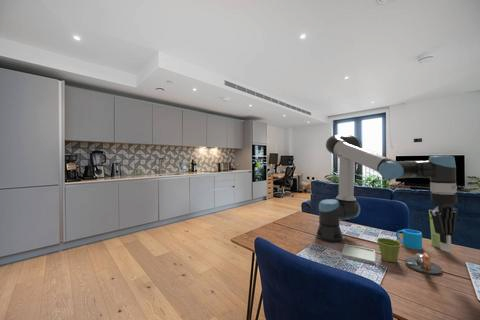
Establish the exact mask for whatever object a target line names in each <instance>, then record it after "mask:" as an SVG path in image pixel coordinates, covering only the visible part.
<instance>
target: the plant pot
mask: <svg viewBox="0 0 480 320" xmlns="http://www.w3.org/2000/svg"><path fill="white" fill-rule="evenodd" d="M376 241H377V244H378V247H379V251H380V256H381V260H383V261H385V262H388V263H397V262H398V258H399V251H400V249H401V246H402V242H401V241H400V242H399V240H395V239H392V238H386V237H385V238H384V237H379V238H377V239H376Z"/></svg>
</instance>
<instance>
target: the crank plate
mask: <svg viewBox="0 0 480 320" xmlns="http://www.w3.org/2000/svg"><path fill="white" fill-rule="evenodd" d="M404 263H405V265H406V266H407V267H409V268H410V269H412V270H414V271H416V272H420V273H423V274H427V275H435V276H438V274H439V275H441V274H442V273H443V271H442V270H443V269H442V267H441V266H440V265H438V264H437V263H435V262H433V261H430V269H431V271H425V270H423V267H422V265H419V264H417V263H416V257H406V258H405V259H404Z"/></svg>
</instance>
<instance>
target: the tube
mask: <svg viewBox="0 0 480 320" xmlns="http://www.w3.org/2000/svg"><path fill="white" fill-rule="evenodd" d="M430 210H432V211H433V210H434V209H428V215H429V225H430V226H429V227H430V239H431V246H433V247H434V248H440V234H438V233H436V232H435V228H434V224H433V219H432V215H431V214H430Z"/></svg>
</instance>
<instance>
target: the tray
mask: <svg viewBox="0 0 480 320" xmlns="http://www.w3.org/2000/svg"><path fill="white" fill-rule="evenodd" d="M341 257H342V258H346V259H350V260H354V261H360V262H363V263H367V264H370V265H371V264H372V265H376V250H375V249H373V248H368V247H363V246H358V245H354V244H353V245H352V244H349V243H348V244H347V243H344V246H343V248H342V252H341Z"/></svg>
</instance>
